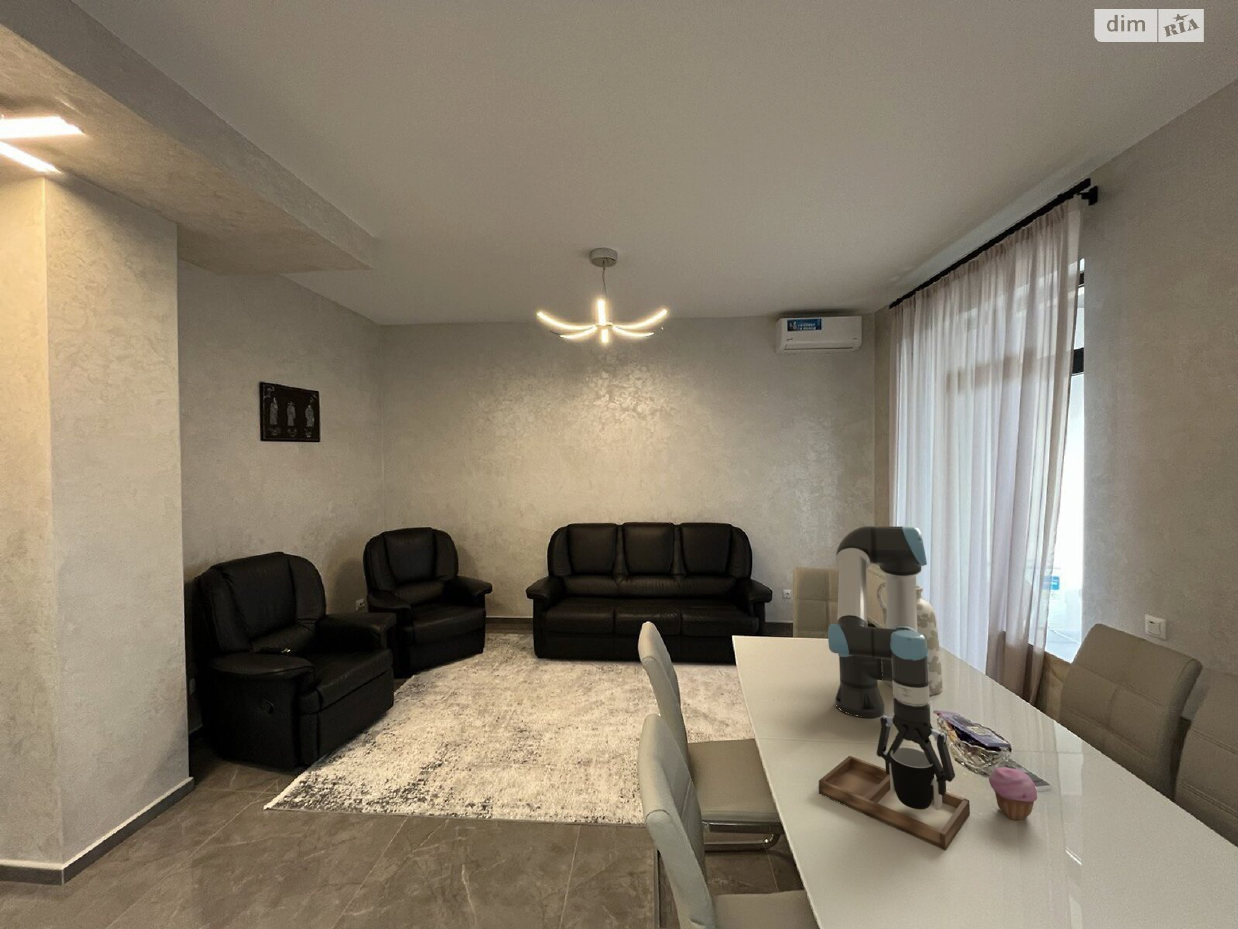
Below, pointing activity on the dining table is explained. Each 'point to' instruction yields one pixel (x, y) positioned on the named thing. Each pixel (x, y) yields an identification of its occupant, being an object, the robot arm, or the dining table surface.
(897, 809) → the organizer box
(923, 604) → the vase
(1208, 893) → the dining table surface
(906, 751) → the mug
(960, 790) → the dining table surface
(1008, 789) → the cupcake
